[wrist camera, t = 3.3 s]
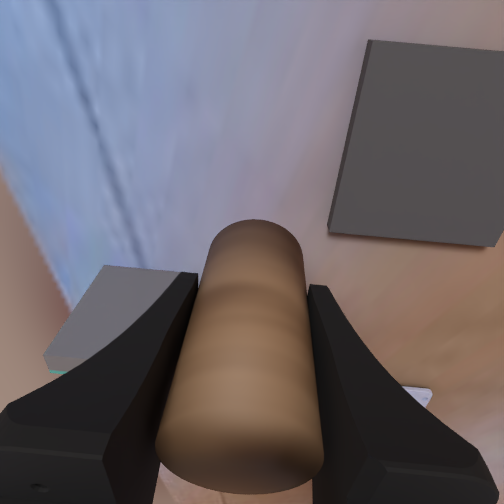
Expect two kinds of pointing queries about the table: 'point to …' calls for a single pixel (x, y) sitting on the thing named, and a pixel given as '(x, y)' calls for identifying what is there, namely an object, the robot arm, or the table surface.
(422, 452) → the robot arm
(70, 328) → the tile
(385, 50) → the mat
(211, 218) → the table surface
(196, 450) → the peg
